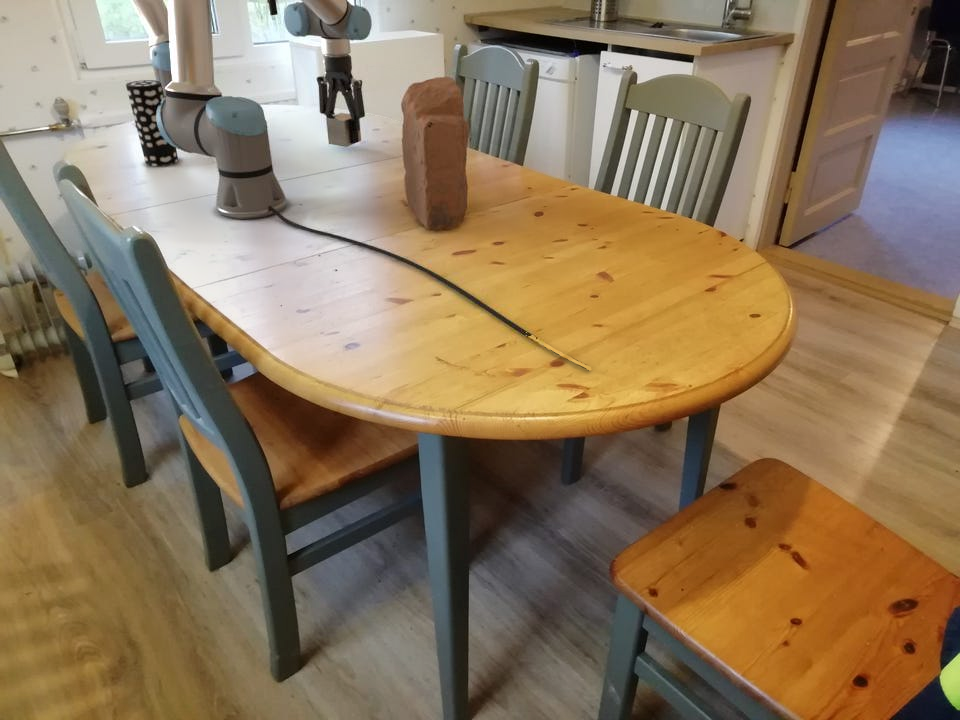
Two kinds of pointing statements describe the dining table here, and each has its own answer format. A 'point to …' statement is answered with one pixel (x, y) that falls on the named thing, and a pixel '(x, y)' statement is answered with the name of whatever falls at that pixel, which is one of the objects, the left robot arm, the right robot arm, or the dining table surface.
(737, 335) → the dining table surface
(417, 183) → the stone
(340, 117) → the metallic grey cube
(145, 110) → the black white spotted cylinder
